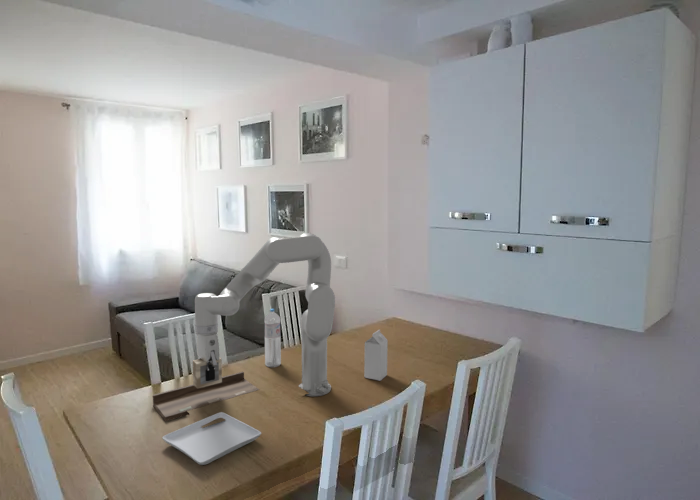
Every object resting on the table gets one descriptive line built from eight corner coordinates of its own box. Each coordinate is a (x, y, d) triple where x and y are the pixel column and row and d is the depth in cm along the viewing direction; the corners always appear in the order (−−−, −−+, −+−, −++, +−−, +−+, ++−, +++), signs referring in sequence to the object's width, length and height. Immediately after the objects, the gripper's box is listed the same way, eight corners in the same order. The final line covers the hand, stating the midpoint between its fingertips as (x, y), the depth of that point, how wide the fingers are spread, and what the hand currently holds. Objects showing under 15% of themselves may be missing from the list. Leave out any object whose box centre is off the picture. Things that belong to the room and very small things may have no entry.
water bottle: (272, 369, 191) (271, 312, 188) (261, 365, 195) (260, 309, 192) (284, 364, 197) (283, 308, 194) (273, 360, 201) (272, 306, 198)
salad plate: (221, 419, 149) (221, 409, 149) (263, 442, 136) (263, 431, 135) (160, 447, 133) (160, 436, 132) (201, 475, 119) (200, 463, 119)
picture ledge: (259, 393, 168) (259, 383, 167) (165, 421, 147) (165, 409, 146) (243, 381, 179) (242, 371, 178) (153, 405, 158) (152, 394, 157)
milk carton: (364, 377, 183) (364, 332, 181) (371, 371, 189) (372, 328, 187) (380, 381, 180) (380, 335, 177) (387, 375, 186) (387, 330, 184)
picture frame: (222, 382, 162) (221, 358, 161) (197, 388, 157) (196, 363, 156) (217, 378, 166) (217, 355, 164) (193, 384, 160) (192, 360, 159)
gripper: (226, 332, 155) (227, 383, 157) (207, 321, 168) (208, 368, 170) (205, 336, 150) (206, 388, 152) (187, 324, 163) (189, 373, 165)
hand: (207, 377), depth 161 cm, fingers closed on picture frame, 4 cm apart
